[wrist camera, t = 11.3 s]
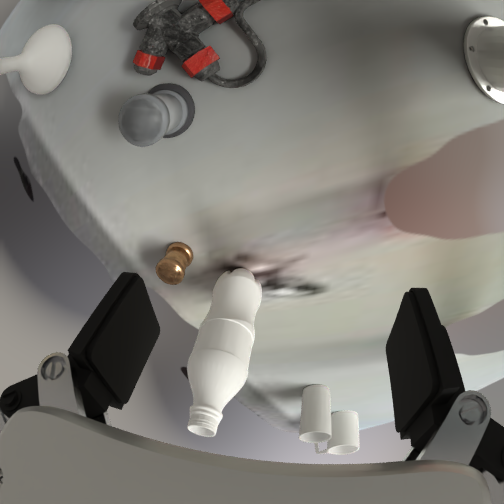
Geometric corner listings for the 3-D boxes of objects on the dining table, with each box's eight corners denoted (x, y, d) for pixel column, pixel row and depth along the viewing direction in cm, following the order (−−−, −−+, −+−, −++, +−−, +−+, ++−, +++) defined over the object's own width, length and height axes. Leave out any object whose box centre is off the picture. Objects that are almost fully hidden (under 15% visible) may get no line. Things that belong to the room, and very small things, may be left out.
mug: (296, 388, 62) (292, 435, 52) (323, 380, 59) (323, 429, 49) (316, 405, 66) (314, 448, 56) (341, 398, 63) (342, 443, 53)
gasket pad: (191, 79, 31) (190, 79, 31) (197, 134, 35) (196, 134, 35) (139, 89, 33) (138, 89, 32) (147, 140, 36) (145, 141, 36)
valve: (188, 121, 37) (123, 41, 29) (359, 25, 27) (294, -63, 20) (177, 135, 32) (101, 43, 24) (378, 23, 22) (301, -80, 15)
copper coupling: (190, 241, 44) (179, 261, 40) (195, 265, 47) (185, 285, 42) (165, 241, 45) (152, 260, 41) (171, 264, 47) (159, 283, 43)
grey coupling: (186, 86, 32) (163, 90, 26) (190, 131, 35) (169, 144, 29) (144, 93, 32) (115, 99, 27) (149, 135, 36) (122, 149, 30)
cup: (310, 417, 70) (308, 450, 61) (353, 407, 65) (355, 442, 57) (320, 427, 73) (319, 458, 65) (361, 419, 69) (362, 451, 60)
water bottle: (247, 305, 50) (216, 447, 29) (210, 283, 48) (158, 425, 28) (272, 278, 46) (249, 435, 25) (232, 254, 44) (182, 408, 24)
